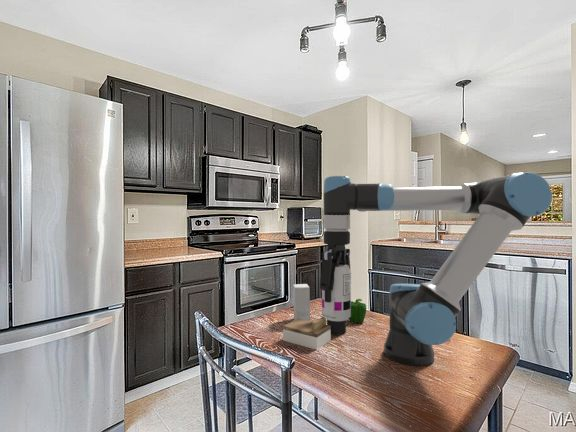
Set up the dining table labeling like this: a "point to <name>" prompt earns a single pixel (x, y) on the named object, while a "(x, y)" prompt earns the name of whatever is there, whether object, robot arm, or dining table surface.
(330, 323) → the travel mug
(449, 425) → the dining table surface
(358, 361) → the dining table surface
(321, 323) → the lid
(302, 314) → the skincare box
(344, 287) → the supplement can
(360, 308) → the bell pepper
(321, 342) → the keepsake box
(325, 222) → the robot arm
